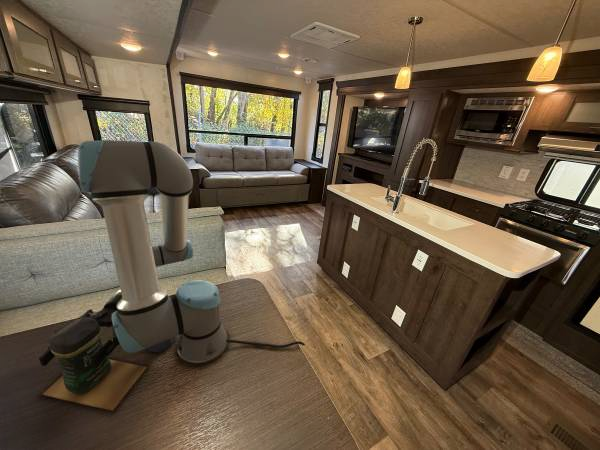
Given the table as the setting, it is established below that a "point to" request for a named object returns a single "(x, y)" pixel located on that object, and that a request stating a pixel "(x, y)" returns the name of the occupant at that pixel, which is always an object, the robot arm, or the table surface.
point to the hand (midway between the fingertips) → (67, 363)
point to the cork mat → (102, 387)
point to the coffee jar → (80, 354)
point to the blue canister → (161, 345)
